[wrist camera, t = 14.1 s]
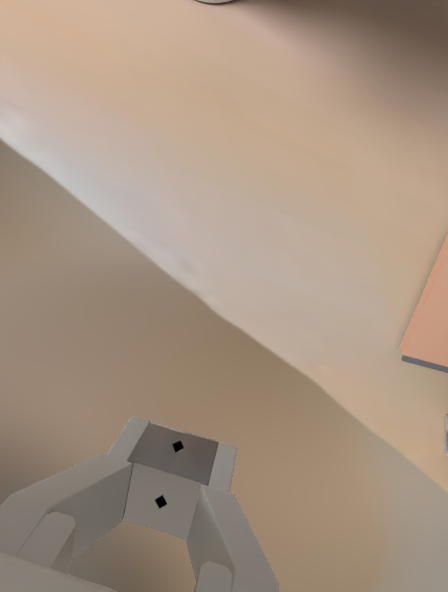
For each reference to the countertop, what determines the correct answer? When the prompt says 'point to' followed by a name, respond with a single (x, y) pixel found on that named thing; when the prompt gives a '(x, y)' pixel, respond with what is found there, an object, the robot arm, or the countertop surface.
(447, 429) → the coffee box
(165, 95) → the countertop surface
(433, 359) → the tile
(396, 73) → the countertop surface
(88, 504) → the robot arm
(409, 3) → the countertop surface
